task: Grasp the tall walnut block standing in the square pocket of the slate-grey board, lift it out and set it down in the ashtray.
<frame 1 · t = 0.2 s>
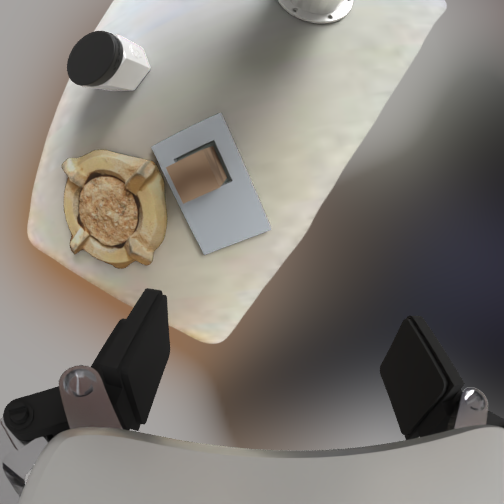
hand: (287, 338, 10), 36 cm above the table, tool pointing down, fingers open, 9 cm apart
pocket board: (212, 185, 44), on the table
block: (204, 168, 43), resting on pocket board
ashtray: (112, 205, 47), on the table
jar: (127, 69, 36), on the table
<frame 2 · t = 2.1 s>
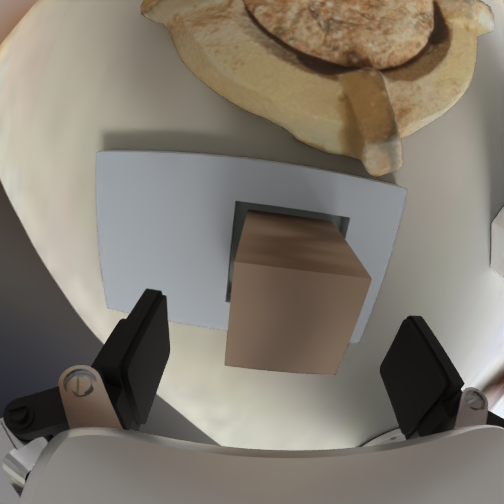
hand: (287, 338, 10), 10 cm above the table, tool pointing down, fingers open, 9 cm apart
pocket board: (239, 246, 19), on the table
block: (284, 254, 19), resting on pocket board
ashtray: (338, 1, 13), on the table
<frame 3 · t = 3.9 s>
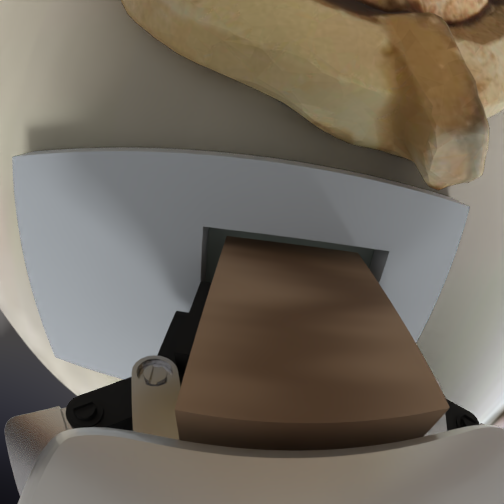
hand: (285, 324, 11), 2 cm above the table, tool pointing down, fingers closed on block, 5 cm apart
pocket board: (217, 289, 13), on the table
block: (283, 301, 13), resting on pocket board, touching gripper
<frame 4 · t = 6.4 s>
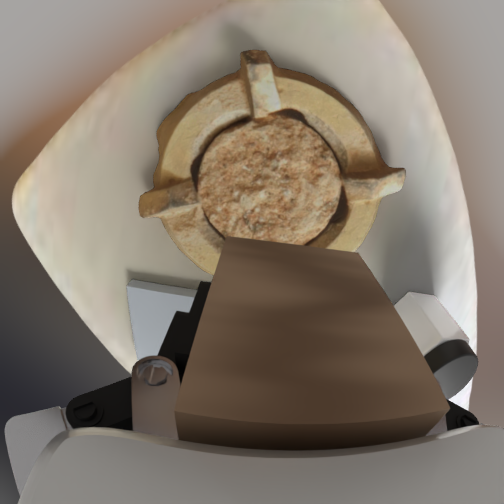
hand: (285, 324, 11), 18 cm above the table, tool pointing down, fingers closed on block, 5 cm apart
pocket board: (212, 333, 34), on the table
block: (283, 301, 12), point 16 cm above the table, touching gripper
ashtray: (272, 181, 27), on the table
jar: (408, 317, 32), on the table
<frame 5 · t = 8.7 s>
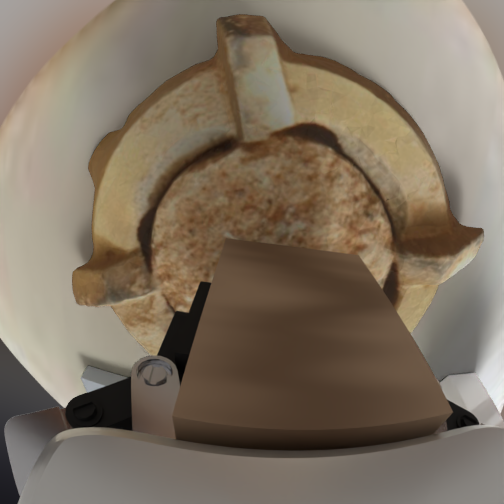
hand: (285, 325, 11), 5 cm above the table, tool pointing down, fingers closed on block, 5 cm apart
pocket board: (195, 426, 23), on the table
block: (283, 304, 12), point 4 cm above the table, touching ashtray, gripper
ashtray: (276, 245, 17), on the table, touching block
jar: (441, 397, 22), on the table
when the fingers open (5 cm above the table, at t = 9.2 s): block stays where it is, resting on ashtray.
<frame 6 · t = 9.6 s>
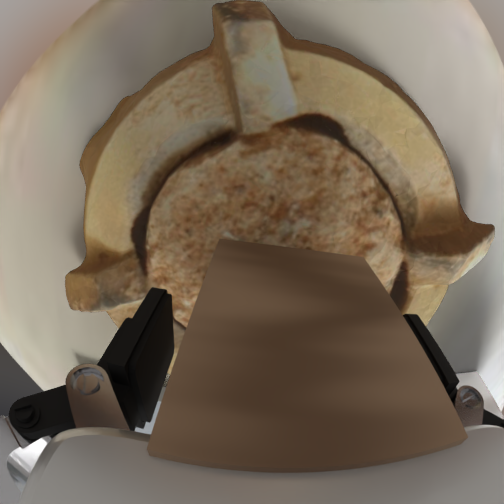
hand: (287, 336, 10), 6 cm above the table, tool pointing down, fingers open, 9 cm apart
block: (282, 309, 11), point 4 cm above the table, touching ashtray
ashtray: (279, 244, 16), on the table, touching block
jar: (443, 396, 21), on the table
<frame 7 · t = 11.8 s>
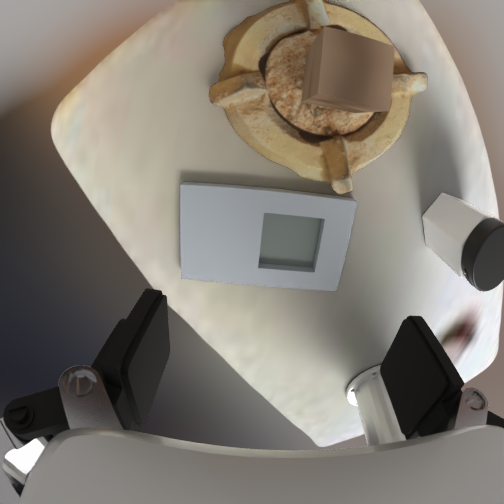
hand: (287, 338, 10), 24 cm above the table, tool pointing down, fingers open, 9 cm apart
pocket board: (264, 236, 34), on the table
block: (331, 81, 23), point 4 cm above the table, touching ashtray
ashtray: (322, 83, 27), on the table, touching block
jar: (443, 221, 33), on the table
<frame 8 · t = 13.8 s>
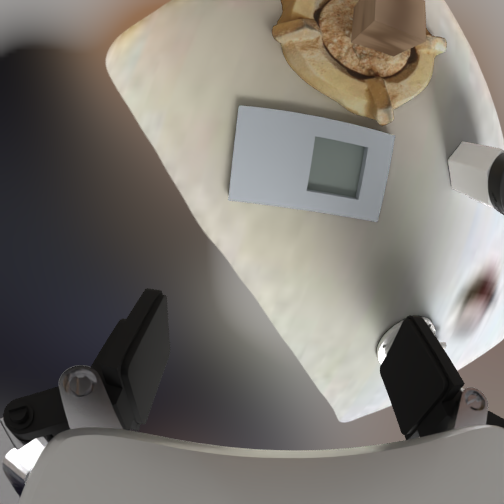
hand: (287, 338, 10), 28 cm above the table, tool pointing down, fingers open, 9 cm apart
pocket board: (312, 162, 35), on the table
block: (374, 31, 23), point 4 cm above the table, touching ashtray
ashtray: (362, 39, 28), on the table, touching block
jar: (465, 168, 33), on the table
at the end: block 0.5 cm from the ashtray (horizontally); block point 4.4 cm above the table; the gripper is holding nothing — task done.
